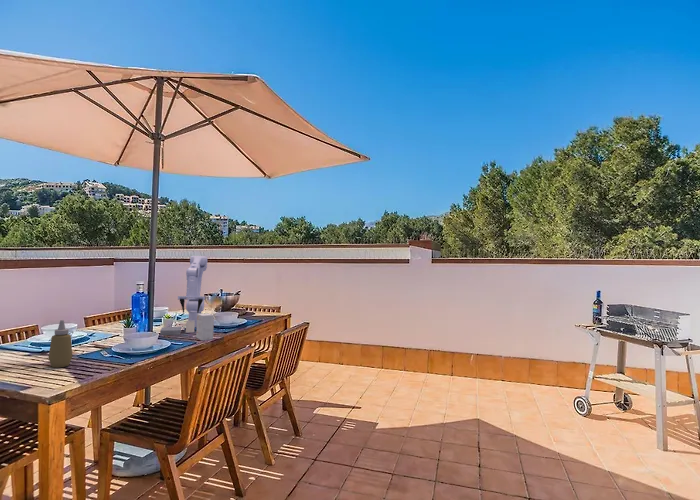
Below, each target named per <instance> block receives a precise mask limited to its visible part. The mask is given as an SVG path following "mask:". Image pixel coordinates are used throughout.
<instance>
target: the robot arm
mask: <svg viewBox="0 0 700 500" xmlns="http://www.w3.org/2000/svg"><path fill="white" fill-rule="evenodd" d="M189 257H190V258H189V264H190V265H189V267H188V268H186V272H185V273H186V274H185V275H186V291H185V294H186V295H183V296H182V295H178V296H177V300H179V303H180V305H181V310H182V313H185V309H186V312H188V320H187V321H195V326H194V329H196V328H197V314H202V312H204V310H205V300H206V296H205V295H204V296H201V292H202V291H201V290H202V289H201V288H202V280H203V275H204V272H205V271H207V269H208V256H207V255H191V256H189ZM185 303H186V306H185Z"/></svg>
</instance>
